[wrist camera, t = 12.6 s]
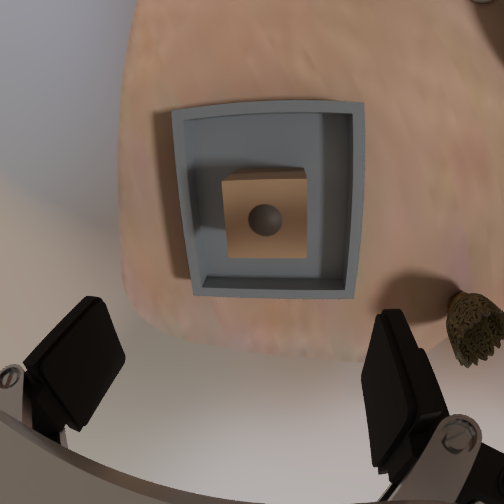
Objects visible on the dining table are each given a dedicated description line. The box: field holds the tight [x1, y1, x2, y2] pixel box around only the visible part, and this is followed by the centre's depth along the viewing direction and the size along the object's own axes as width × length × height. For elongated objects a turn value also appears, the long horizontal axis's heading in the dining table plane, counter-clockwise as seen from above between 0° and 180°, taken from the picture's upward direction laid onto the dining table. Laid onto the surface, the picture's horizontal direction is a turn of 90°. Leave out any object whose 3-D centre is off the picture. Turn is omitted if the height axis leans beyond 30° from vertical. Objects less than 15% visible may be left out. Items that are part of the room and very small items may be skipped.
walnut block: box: [221, 168, 307, 258], centre depth 24 cm, size 6×6×6 cm
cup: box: [446, 292, 504, 368], centre depth 25 cm, size 8×7×8 cm
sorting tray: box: [171, 100, 365, 299], centre depth 26 cm, size 18×16×3 cm
